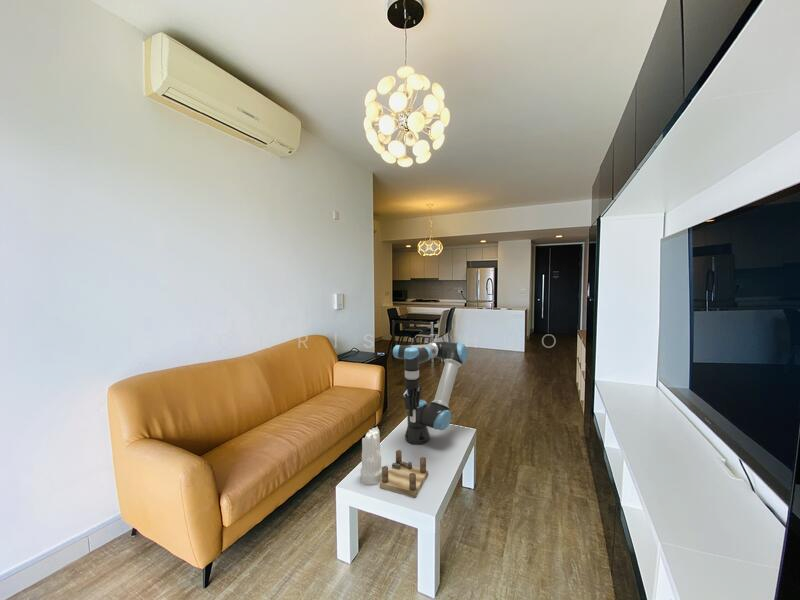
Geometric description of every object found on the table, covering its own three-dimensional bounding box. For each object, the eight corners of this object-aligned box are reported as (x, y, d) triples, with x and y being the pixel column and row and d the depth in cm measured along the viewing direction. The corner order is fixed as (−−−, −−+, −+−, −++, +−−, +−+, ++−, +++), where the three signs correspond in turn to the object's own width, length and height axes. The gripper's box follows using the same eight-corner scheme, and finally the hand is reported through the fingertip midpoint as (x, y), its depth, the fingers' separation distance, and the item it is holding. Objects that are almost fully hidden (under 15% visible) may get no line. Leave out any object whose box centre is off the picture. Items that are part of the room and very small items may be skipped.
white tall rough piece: (362, 486, 149) (361, 435, 148) (359, 473, 159) (357, 425, 158) (384, 482, 152) (383, 432, 150) (380, 469, 162) (379, 422, 161)
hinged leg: (394, 463, 163) (394, 452, 162) (398, 460, 165) (397, 449, 165) (410, 469, 157) (409, 457, 157) (413, 466, 160) (413, 455, 159)
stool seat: (395, 466, 165) (395, 450, 164) (428, 474, 157) (428, 457, 157) (379, 487, 148) (379, 469, 148) (415, 497, 141) (415, 478, 140)
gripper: (414, 373, 172) (415, 415, 173) (398, 379, 162) (399, 423, 164) (425, 376, 166) (426, 419, 168) (408, 382, 157) (409, 428, 159)
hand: (412, 421), depth 166 cm, fingers closed
